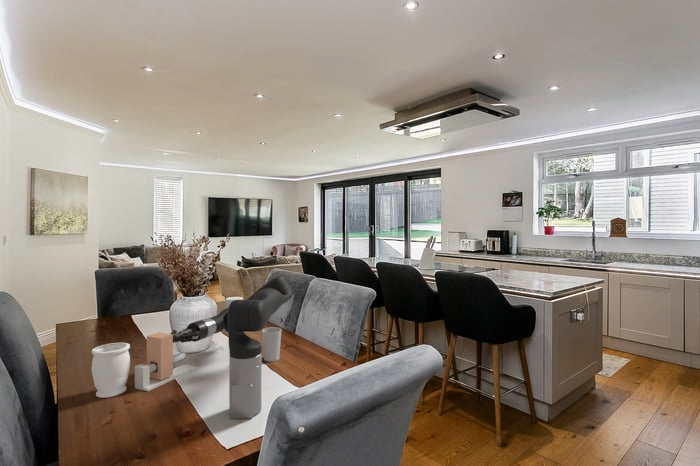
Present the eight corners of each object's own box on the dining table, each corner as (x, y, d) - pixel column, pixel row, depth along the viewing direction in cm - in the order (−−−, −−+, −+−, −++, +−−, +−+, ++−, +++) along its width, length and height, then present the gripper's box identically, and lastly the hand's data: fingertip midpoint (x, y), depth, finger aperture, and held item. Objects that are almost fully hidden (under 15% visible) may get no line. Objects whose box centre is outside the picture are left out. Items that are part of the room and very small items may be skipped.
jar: (123, 382, 129) (123, 340, 128) (135, 391, 122) (135, 346, 122) (87, 393, 121) (87, 347, 120) (98, 403, 114) (97, 355, 114)
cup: (276, 363, 149) (277, 333, 148) (258, 361, 150) (258, 332, 150) (284, 356, 156) (284, 328, 156) (266, 354, 158) (266, 326, 158)
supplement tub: (247, 323, 206) (247, 297, 206) (233, 327, 198) (234, 300, 197) (234, 321, 211) (234, 295, 210) (221, 325, 203) (221, 298, 202)
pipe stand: (184, 366, 144) (184, 347, 144) (196, 368, 142) (196, 349, 142) (134, 388, 124) (134, 366, 124) (147, 391, 122) (147, 369, 122)
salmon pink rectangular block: (158, 371, 135) (158, 332, 135) (172, 374, 132) (172, 334, 132) (146, 376, 130) (146, 336, 130) (160, 380, 128) (160, 338, 127)
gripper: (189, 318, 152) (152, 329, 136) (214, 321, 147) (179, 333, 131) (189, 336, 152) (152, 349, 136) (214, 340, 147) (179, 354, 131)
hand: (165, 341), depth 133 cm, fingers closed
